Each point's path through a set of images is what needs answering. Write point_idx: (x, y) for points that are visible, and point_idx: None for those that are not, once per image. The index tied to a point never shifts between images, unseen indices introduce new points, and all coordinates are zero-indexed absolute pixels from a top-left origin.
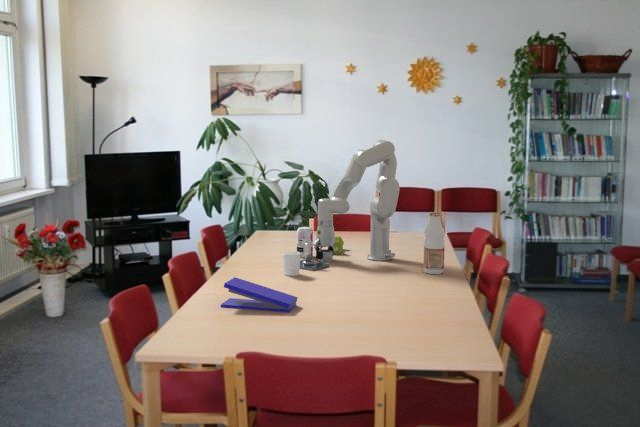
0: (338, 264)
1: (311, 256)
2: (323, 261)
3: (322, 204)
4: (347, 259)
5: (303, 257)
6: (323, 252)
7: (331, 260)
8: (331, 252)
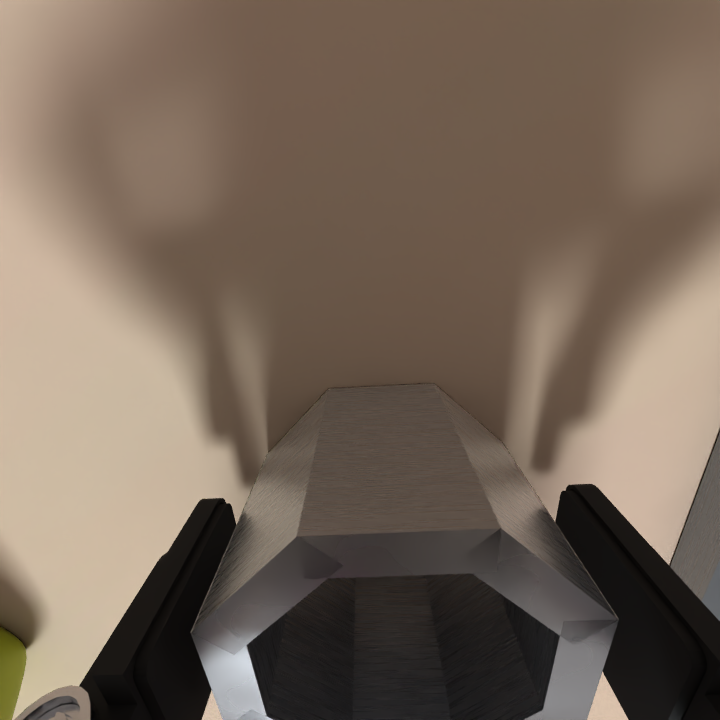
0: (498, 84)
1: None
2: (500, 445)
3: None
4: (4, 291)
5: None
6: (606, 607)
7: (359, 395)
8: (364, 509)
